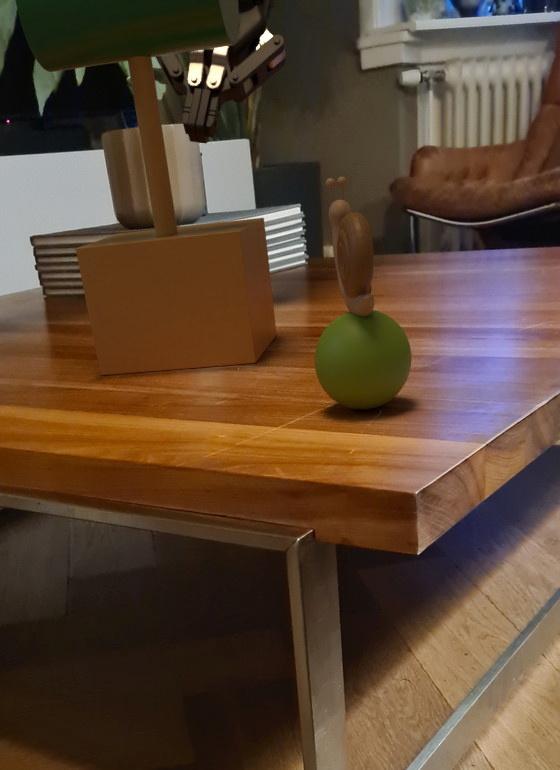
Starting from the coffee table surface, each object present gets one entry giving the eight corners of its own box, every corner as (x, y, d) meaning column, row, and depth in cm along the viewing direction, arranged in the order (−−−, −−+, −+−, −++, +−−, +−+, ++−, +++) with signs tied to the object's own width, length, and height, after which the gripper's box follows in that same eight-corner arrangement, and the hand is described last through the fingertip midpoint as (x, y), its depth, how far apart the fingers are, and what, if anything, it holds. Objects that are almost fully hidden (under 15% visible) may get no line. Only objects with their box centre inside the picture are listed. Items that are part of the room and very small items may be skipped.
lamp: (261, 364, 66) (206, -99, 54) (92, 377, 69) (2, -62, 56) (282, 335, 75) (240, -67, 63) (132, 347, 78) (63, -37, 65)
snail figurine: (394, 386, 56) (382, 171, 51) (425, 411, 51) (416, 171, 45) (307, 400, 56) (286, 183, 50) (330, 426, 50) (308, 185, 45)
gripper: (309, -3, 84) (274, 173, 82) (170, -19, 85) (132, 154, 83) (306, -74, 76) (267, 118, 75) (153, -91, 78) (111, 98, 76)
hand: (196, 136), depth 79 cm, fingers closed
